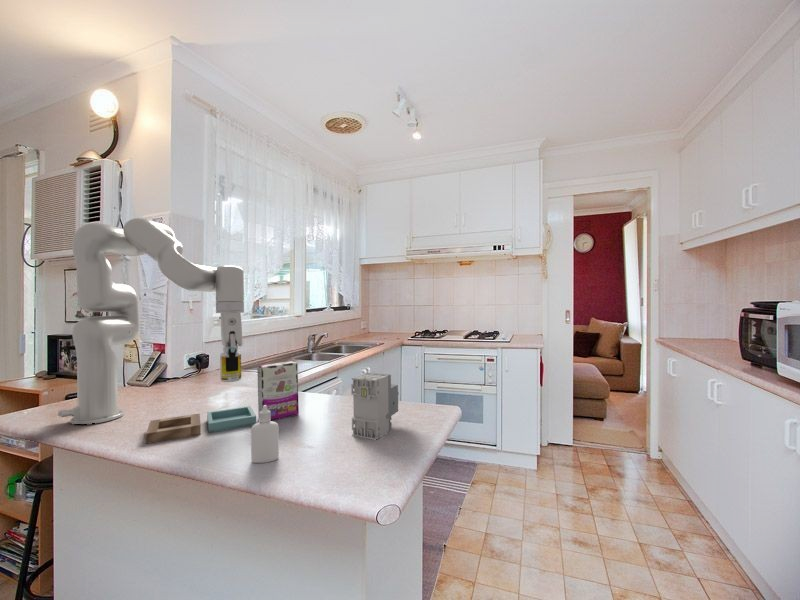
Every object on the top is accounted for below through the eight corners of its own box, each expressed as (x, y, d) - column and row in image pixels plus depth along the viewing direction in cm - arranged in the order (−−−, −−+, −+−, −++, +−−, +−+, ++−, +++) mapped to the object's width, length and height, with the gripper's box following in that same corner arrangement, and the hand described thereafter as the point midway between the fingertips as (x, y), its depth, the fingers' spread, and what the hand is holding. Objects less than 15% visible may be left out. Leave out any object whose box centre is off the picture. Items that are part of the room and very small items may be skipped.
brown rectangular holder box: (145, 443, 90) (145, 433, 90) (150, 429, 100) (150, 420, 100) (200, 434, 96) (200, 424, 96) (199, 421, 106) (199, 413, 106)
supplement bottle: (243, 380, 105) (243, 345, 105) (223, 383, 101) (222, 347, 101) (238, 377, 109) (238, 344, 109) (218, 380, 105) (218, 346, 106)
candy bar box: (292, 411, 115) (292, 360, 115) (299, 415, 111) (298, 362, 112) (257, 418, 108) (256, 364, 108) (262, 423, 104) (262, 366, 105)
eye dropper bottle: (260, 454, 82) (259, 402, 82) (282, 456, 81) (281, 403, 81) (247, 462, 78) (247, 407, 78) (270, 465, 77) (270, 409, 77)
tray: (209, 432, 97) (209, 423, 97) (207, 420, 107) (207, 412, 107) (256, 424, 103) (256, 416, 103) (250, 413, 113) (250, 406, 113)
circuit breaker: (400, 422, 103) (400, 370, 103) (377, 440, 90) (376, 380, 90) (378, 419, 106) (377, 368, 106) (352, 435, 93) (351, 378, 93)
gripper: (247, 307, 100) (248, 372, 100) (240, 307, 115) (241, 364, 114) (217, 308, 96) (218, 375, 96) (214, 308, 111) (214, 366, 111)
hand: (230, 368), depth 105 cm, fingers closed on supplement bottle, 5 cm apart
